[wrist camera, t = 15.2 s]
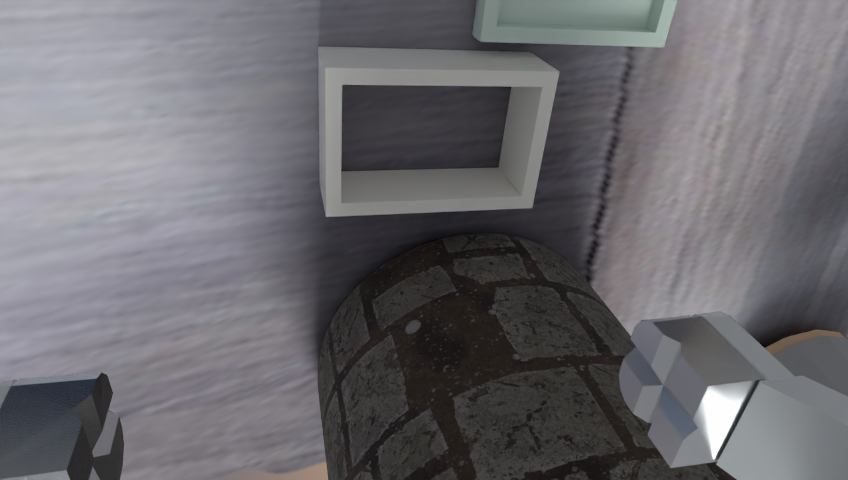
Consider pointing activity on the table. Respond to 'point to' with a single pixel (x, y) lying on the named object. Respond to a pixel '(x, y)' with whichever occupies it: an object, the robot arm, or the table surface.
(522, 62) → the frame
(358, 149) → the table surface
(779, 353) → the desk lamp
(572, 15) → the tray
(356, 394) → the planter
